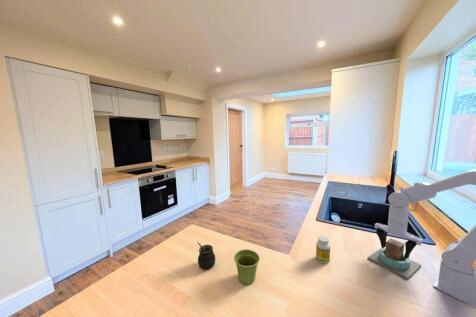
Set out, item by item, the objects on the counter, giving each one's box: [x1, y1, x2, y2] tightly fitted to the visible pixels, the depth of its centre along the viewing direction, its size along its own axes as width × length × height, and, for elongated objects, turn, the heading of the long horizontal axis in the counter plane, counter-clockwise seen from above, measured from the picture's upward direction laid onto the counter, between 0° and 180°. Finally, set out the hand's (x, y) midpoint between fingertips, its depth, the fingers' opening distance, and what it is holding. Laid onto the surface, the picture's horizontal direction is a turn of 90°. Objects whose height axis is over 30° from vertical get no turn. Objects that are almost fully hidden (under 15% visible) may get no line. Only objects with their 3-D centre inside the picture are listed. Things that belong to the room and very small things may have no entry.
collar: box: [367, 247, 422, 281], centre depth 74 cm, size 13×13×3 cm
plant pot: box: [233, 249, 261, 286], centre depth 67 cm, size 9×9×9 cm
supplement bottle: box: [315, 235, 331, 264], centre depth 76 cm, size 5×5×10 cm
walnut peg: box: [385, 238, 405, 261], centre depth 73 cm, size 4×4×8 cm
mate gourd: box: [197, 241, 216, 271], centre depth 74 cm, size 7×8×10 cm
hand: (394, 252), depth 73 cm, fingers open, 7 cm apart
